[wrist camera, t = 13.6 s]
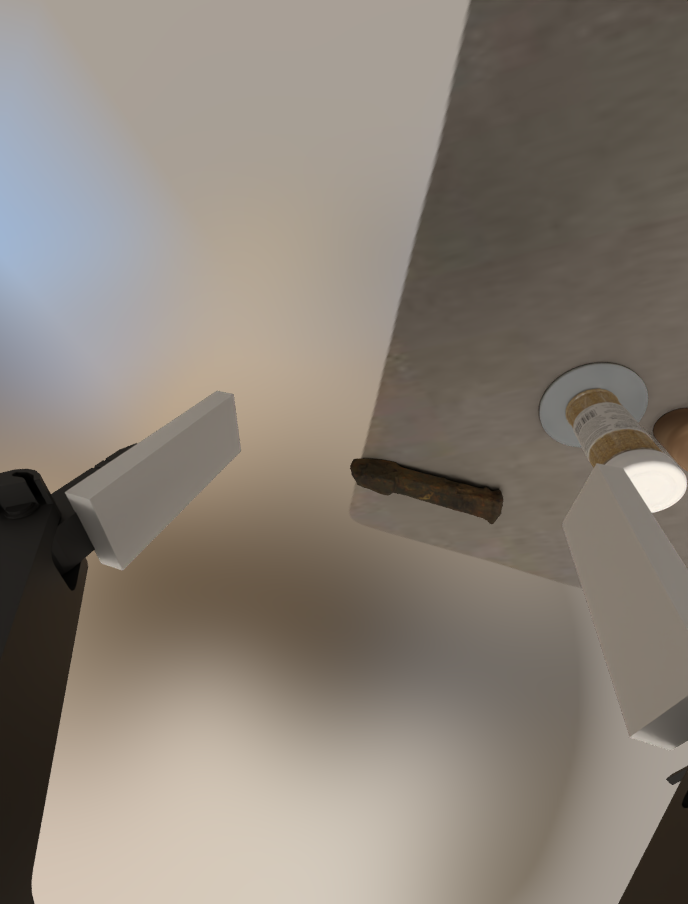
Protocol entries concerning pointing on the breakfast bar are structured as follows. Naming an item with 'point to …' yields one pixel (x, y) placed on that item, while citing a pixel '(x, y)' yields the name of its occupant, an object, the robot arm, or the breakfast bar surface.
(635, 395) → the coaster
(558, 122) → the breakfast bar surface
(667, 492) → the sprinkles bottle
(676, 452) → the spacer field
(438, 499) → the dark brown elongated piece
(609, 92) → the breakfast bar surface
